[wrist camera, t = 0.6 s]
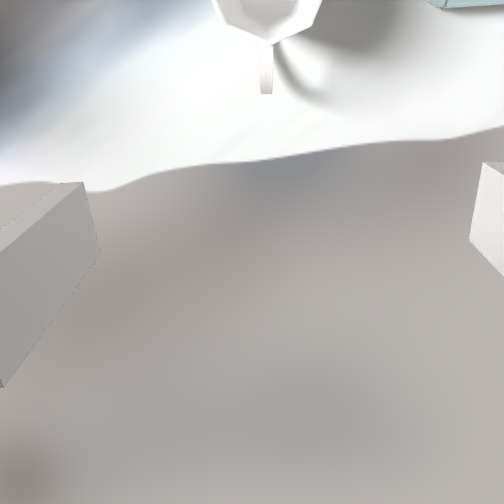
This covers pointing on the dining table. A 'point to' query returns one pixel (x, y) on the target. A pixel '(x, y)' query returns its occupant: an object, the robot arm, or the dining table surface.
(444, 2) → the saucer
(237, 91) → the dining table surface
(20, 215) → the robot arm
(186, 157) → the dining table surface
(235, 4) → the cup
